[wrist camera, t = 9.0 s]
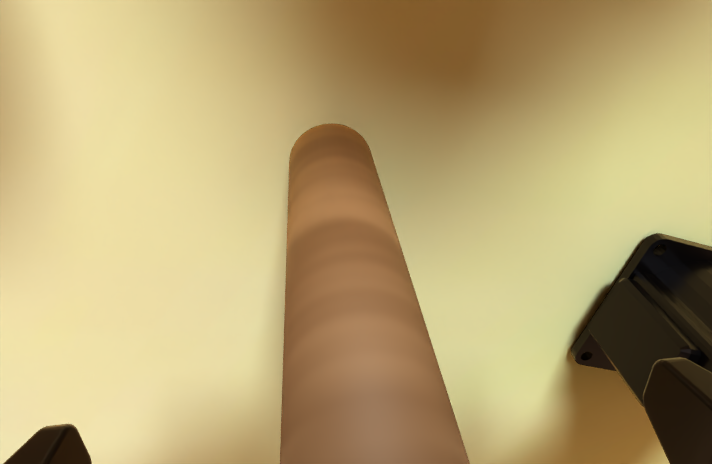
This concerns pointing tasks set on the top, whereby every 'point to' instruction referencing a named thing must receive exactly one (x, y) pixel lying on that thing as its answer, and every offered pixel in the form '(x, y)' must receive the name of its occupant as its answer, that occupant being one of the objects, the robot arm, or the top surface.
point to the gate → (354, 321)
